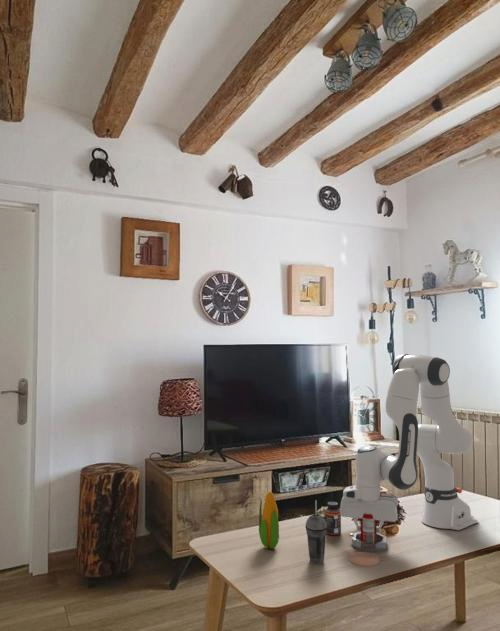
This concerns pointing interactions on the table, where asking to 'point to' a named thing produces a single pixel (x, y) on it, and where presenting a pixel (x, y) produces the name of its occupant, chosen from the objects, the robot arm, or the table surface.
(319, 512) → the fruit
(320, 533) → the beverage cup
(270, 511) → the corn
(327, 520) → the supplement bottle
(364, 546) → the collar
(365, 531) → the soda can
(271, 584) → the table surface
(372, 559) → the peach dome
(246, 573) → the table surface
